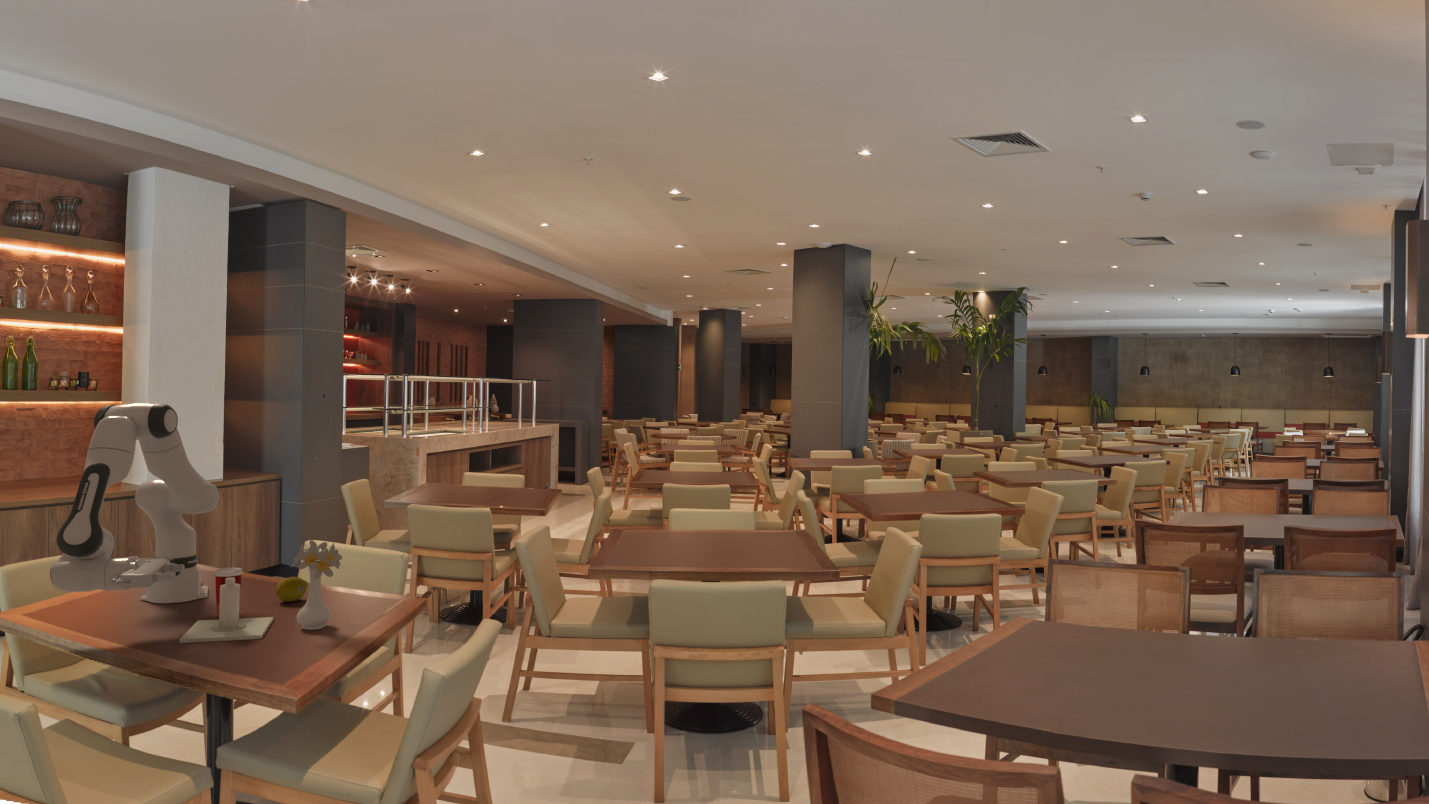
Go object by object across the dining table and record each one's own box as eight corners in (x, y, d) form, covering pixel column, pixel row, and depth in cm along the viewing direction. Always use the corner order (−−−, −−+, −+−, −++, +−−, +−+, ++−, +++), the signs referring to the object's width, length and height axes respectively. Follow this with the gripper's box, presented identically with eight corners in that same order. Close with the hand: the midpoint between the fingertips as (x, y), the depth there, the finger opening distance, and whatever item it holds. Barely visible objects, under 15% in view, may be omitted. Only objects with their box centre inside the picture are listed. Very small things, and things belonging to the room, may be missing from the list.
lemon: (281, 606, 275) (282, 581, 274) (269, 602, 279) (269, 577, 279) (314, 600, 283) (314, 576, 283) (301, 596, 288) (302, 572, 288)
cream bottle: (220, 625, 247) (222, 576, 247) (240, 624, 248) (241, 576, 248) (216, 629, 242) (218, 580, 242) (236, 628, 244) (238, 579, 244)
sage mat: (197, 623, 251) (197, 619, 251) (273, 620, 258) (273, 616, 258) (179, 643, 232) (179, 638, 232) (261, 638, 239) (261, 634, 239)
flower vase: (306, 638, 241) (309, 549, 241) (280, 624, 253) (283, 540, 253) (352, 630, 250) (354, 545, 250) (325, 617, 263) (327, 536, 263)
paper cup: (247, 612, 265) (248, 567, 265) (230, 619, 258) (232, 572, 258) (223, 611, 266) (225, 566, 266) (206, 617, 258) (208, 571, 258)
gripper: (109, 571, 227) (169, 569, 231) (133, 554, 246) (188, 553, 251) (109, 594, 227) (169, 592, 231) (133, 576, 246) (188, 574, 251)
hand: (179, 571), depth 241 cm, fingers open, 8 cm apart
